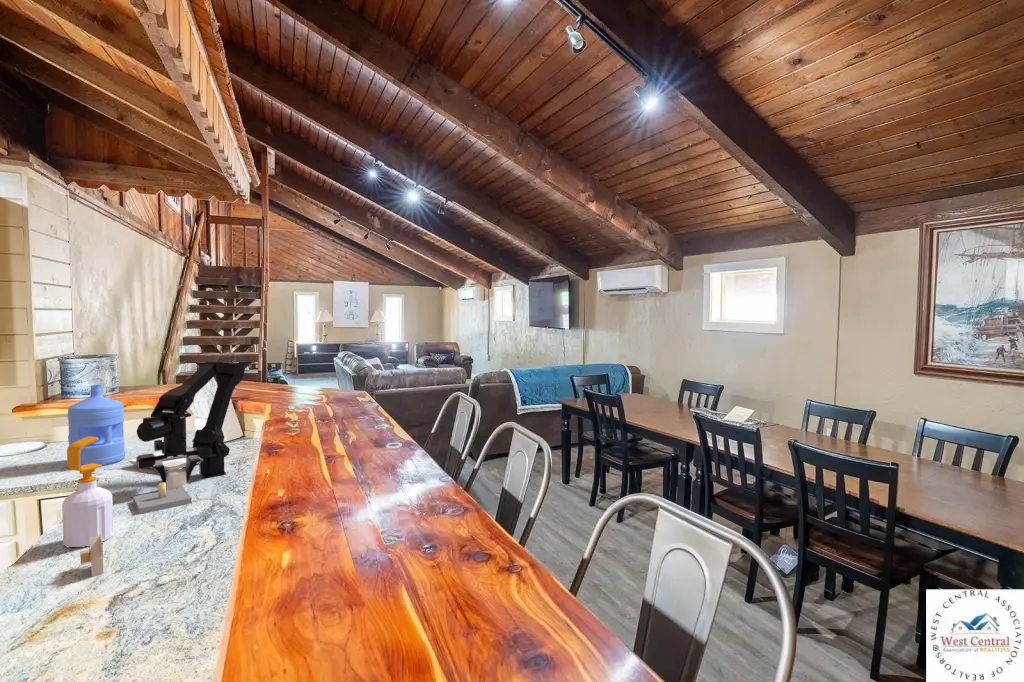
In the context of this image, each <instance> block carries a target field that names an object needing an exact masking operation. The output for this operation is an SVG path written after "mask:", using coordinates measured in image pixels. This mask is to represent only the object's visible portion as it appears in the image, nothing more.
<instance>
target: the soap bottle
mask: <svg viewBox="0 0 1024 682" xmlns="http://www.w3.org/2000/svg"><path fill="white" fill-rule="evenodd" d="M97 440H98V437H92V436H88V437H85V438H83V439H81V440H79V441H76V442H74V443H72V444H71V445H69V444H68V446H67V449H66V461H67V464H66V465H67V468H68V469H69V470H72V471H79V474H80V475H82V477H81V478H78V480H77V482H78V483H77V485H78V486H77V487H78V488H77V490H75V491H74V492H72V493H70V494H69V495H68V496H67V497H65V499H63V502H62V505H61V506H62V508H61V510H62V515H61V516H62V542H63V543H62V545H63V546H64V545H65V546H68V547H67V548H69V547H82V548H86V547H85V546H87V547H89V546H90V538H91V537H94V536H95V537H96V536H100V532H101V535H102V540H103V541H104V542H105V541H107V540H109V539H111V538H112V536H113V535H114V517H113V516H114V512H113V511H114V509H113V508H114V507H113V505H114V504H113V494H112V492H111V491H110V490H108V489H106V488H104V487H100V486H98V485H97V484H98V483H97V477H96V476H93V473H94V472H95V471H96V469H98V468H102V467H103V466H102V465H101V464H95V463H91V464H86V465H82V466H81V463H80V452H81V449H82V448H83V447H85V446H87V445H89V444H91V443H93V442H95V441H97ZM65 546H64V547H65Z"/></svg>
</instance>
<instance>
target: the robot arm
mask: <svg viewBox="0 0 1024 682" xmlns="http://www.w3.org/2000/svg"><path fill="white" fill-rule="evenodd" d="M245 372H246V370H245V367H244V364H243V363H242V362H238V361H237V362H236V361H235V362H234V361H219V360H207V361H205V362H204V363H203V364H202V366H201V367H199V368H198V369H197V370H196V371H195V372H194V373H193V374H192V375H191V376H190V377H189V378H187V379H186V380H184V382H183V383H182V384H181V385H179V386H177V387H173V388H172V389H170V390H167V391H166V392H164V393H163V394H161V396H160V397H158V402H157V403H156V405H155V407H154V409H153V411H152V412H151V414H150V417H146V416H145V417H143V418H142V422H141V423H140V424H138V426H137V429H136V435H137V438H138V439H139V440H140V441H142V442H144V443H146V442H151V441H153V442H154V443H153V444H154V445H153V448H154V451H155V452H160V451H162V453H163V454H164V455H159V456H154V455H153V453H154V452H153V453H145V454H144V453H143V454H140V455H137V457H135V458H136V465H135V466H137V468H138V469H147V467H151V468H150V469H152V470H156V471H157V473H158V475H159V477H160V479H161V483H164V482H165V483H166V476H165V472H166V470H165V468H164V465H163V464H162V461H168V460H174V459H180V458H186V468H185V469H186V481H187V483H188V481H189V480H190V476H191V475H192V472H193V471H194V468H195V466H196V465H197V464H196V463H197V462H199V464H198V469H199V470H198V471H199V474H200V476H202V477H203V479H207V478H211V477H217V476H222V475H227V472H226V471H225V458H226V457H228V456H229V453H230V450H231V448H229V446H227V444H226V443H224V441H225V435H224V432H223V429H222V428H223V426H224V421H225V419H226V415H227V413H228V409H229V405H230V402H231V399H232V395H233V392H234V389H235V388H236V387H237V386H238V385H239V384H240V383H241V382H242V379H243V378H244V375H245ZM214 377H215V380H216V383H217V386H216V387H217V388H216V390H215V394H214V397H213V399H212V404H211V407H210V409H209V412H208V415H207V419H206V421H205V425H204V426H203V427H202V428H201V429H196V431H195V433H194V438H193V439H192V441H191V442H192V446H193V448H194V450H192V451H186V446H187V418H191V417H192V416H193V414H192V413H190V412H188V409H189V408H190V407H191V405H192V404H193V403H194V399H195V396H196V394H198V392H200V391H201V390H202V389H203V388H204V387H205V386H206V385H207V384H208V383H209V382H210V381H211V380H212V379H213V378H214ZM162 438H163V439H162ZM178 455H181V456H178ZM172 456H173V457H172ZM167 457H168V458H167ZM199 457H200V458H201V459H200V458H199Z"/></svg>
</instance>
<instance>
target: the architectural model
mask: <svg viewBox="0 0 1024 682" xmlns="http://www.w3.org/2000/svg"><path fill="white" fill-rule="evenodd" d="M103 546H104V544H103V540H102V535H101V532H100V536H96V537H95V536H94V537H91V538H90V546H88V549H86V550H82V551H79V556H80V565H81V566H84V565H88V564H91V566H90V567H91V577H96V576H100V575H103V574H104V547H103Z"/></svg>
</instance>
